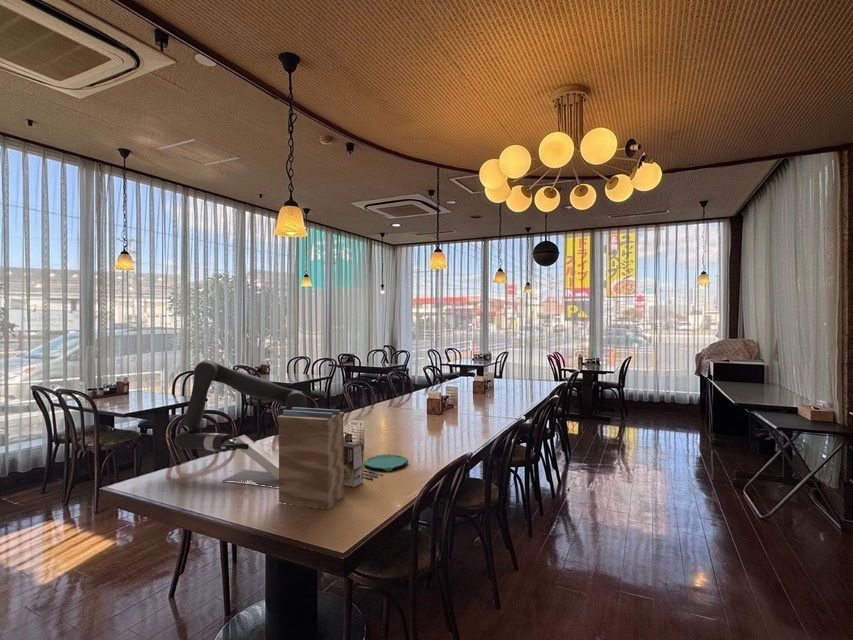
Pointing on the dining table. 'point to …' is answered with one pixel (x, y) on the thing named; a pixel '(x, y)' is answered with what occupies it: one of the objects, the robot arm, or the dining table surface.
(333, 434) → the brown wooden box
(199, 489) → the dining table surface
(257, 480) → the mat
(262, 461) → the bar
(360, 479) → the grey food carton
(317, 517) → the dining table surface
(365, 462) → the cutlery set
